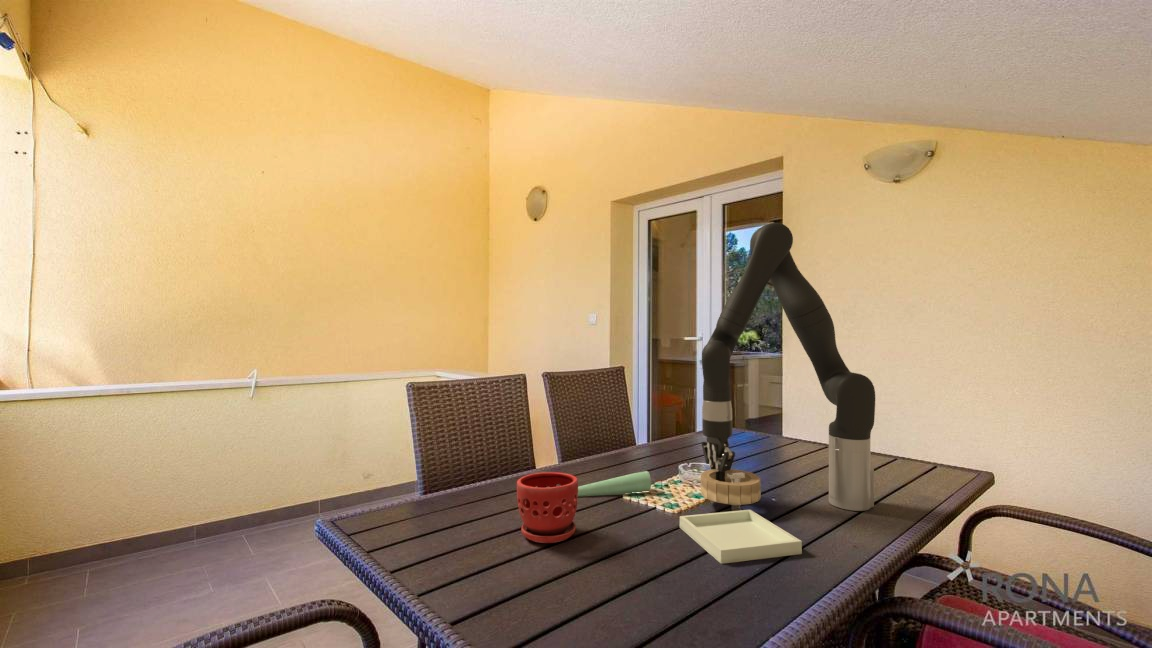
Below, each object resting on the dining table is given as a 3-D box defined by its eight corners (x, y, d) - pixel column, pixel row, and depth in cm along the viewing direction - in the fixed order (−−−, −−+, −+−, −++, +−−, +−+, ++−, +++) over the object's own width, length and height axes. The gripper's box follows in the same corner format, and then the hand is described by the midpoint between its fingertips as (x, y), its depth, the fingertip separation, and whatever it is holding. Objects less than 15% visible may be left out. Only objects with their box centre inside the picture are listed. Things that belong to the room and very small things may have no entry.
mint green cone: (548, 474, 134) (644, 468, 139) (548, 495, 134) (644, 488, 139) (552, 480, 129) (651, 474, 134) (552, 502, 129) (651, 494, 134)
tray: (749, 520, 116) (749, 509, 116) (801, 553, 99) (801, 541, 99) (679, 527, 112) (679, 516, 112) (721, 563, 95) (721, 550, 95)
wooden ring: (739, 483, 134) (739, 466, 134) (772, 501, 120) (772, 482, 120) (691, 488, 130) (691, 470, 130) (719, 507, 117) (719, 487, 117)
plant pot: (585, 527, 112) (586, 473, 112) (565, 552, 99) (565, 491, 99) (531, 519, 116) (532, 467, 116) (505, 542, 104) (506, 484, 104)
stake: (740, 508, 123) (740, 471, 123) (745, 511, 121) (745, 474, 122) (726, 510, 122) (726, 473, 122) (730, 513, 120) (730, 475, 121)
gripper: (744, 421, 125) (745, 491, 125) (716, 412, 139) (717, 475, 138) (717, 423, 123) (718, 493, 123) (691, 413, 137) (692, 477, 137)
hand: (717, 483), depth 131 cm, fingers closed on wooden ring, 2 cm apart
